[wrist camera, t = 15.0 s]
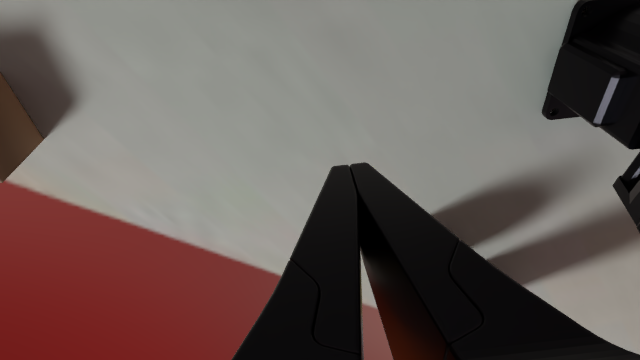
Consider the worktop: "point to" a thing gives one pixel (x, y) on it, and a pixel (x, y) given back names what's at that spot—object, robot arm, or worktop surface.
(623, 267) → the worktop surface
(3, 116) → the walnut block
